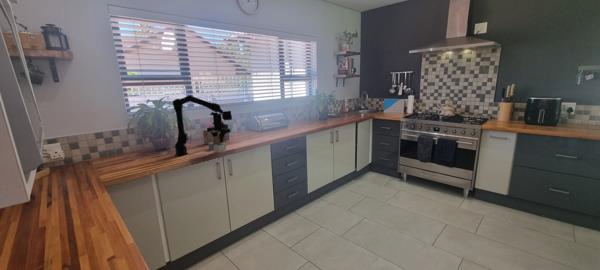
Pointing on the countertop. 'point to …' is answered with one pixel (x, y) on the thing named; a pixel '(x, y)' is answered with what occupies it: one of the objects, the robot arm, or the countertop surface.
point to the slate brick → (211, 146)
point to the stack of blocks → (211, 136)
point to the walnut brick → (218, 140)
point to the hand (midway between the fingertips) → (219, 141)
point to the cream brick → (219, 147)
